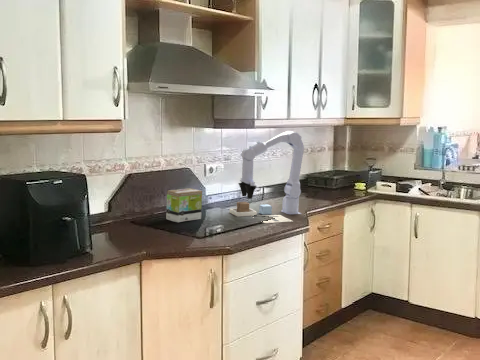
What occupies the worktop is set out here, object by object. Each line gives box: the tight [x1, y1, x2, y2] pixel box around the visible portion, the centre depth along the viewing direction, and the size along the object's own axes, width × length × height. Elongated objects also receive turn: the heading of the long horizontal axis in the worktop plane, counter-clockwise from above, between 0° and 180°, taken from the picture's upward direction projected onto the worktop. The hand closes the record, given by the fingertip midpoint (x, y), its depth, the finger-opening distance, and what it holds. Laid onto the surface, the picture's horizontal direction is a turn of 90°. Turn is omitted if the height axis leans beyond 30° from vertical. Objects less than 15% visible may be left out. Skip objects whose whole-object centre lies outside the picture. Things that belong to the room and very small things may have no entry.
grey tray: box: [229, 207, 258, 218], centre depth 297 cm, size 11×11×2 cm
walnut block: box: [236, 201, 250, 212], centre depth 297 cm, size 5×5×6 cm
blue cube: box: [258, 203, 273, 216], centre depth 299 cm, size 5×5×5 cm
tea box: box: [165, 187, 203, 223], centre depth 281 cm, size 15×10×15 cm
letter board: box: [262, 214, 293, 224], centre depth 287 cm, size 16×16×1 cm
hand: (247, 197), depth 296 cm, fingers open, 7 cm apart
